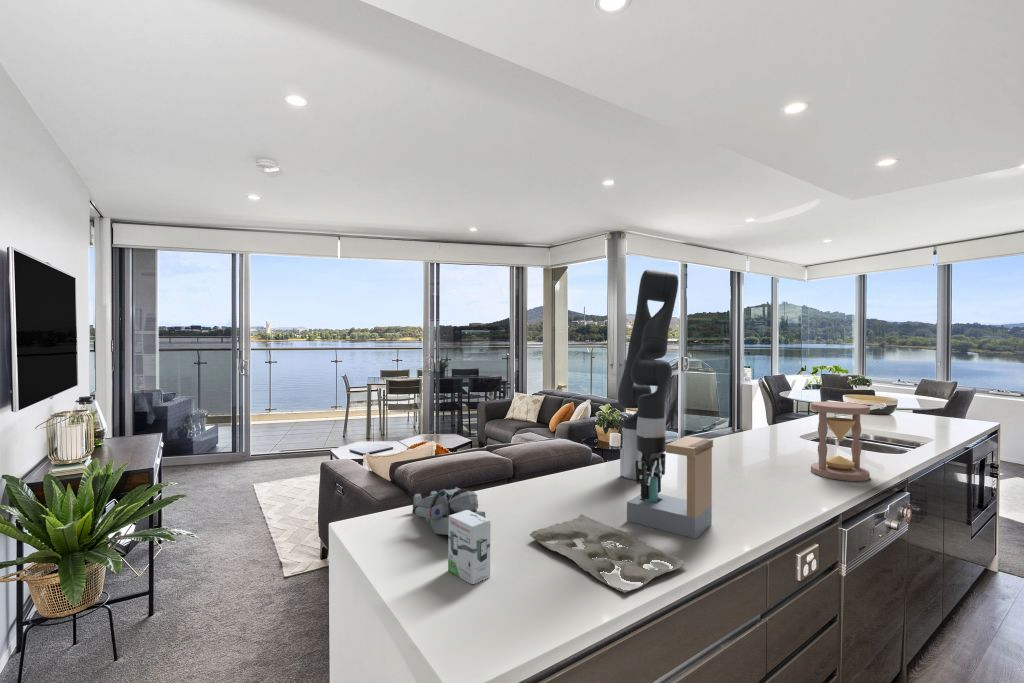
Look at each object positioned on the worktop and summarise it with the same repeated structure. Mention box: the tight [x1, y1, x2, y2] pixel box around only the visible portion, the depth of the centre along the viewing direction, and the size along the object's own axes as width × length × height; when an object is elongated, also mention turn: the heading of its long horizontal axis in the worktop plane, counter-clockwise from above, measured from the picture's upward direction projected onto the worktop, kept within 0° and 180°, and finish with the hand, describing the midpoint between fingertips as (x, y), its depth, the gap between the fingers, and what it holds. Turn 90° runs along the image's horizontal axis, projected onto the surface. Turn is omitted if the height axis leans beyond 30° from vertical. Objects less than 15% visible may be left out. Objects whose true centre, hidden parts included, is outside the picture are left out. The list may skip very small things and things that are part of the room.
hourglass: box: [810, 401, 871, 482], centre depth 174 cm, size 18×18×25 cm
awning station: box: [626, 435, 714, 539], centre depth 129 cm, size 18×14×22 cm
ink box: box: [447, 510, 491, 585], centre depth 100 cm, size 9×5×12 cm, turn 43°
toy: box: [411, 486, 487, 536], centre depth 125 cm, size 17×11×30 cm
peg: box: [645, 476, 659, 504], centre depth 132 cm, size 3×3×11 cm
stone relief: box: [529, 514, 687, 593], centre depth 110 cm, size 32×3×20 cm
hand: (650, 495), depth 132 cm, fingers open, 6 cm apart
